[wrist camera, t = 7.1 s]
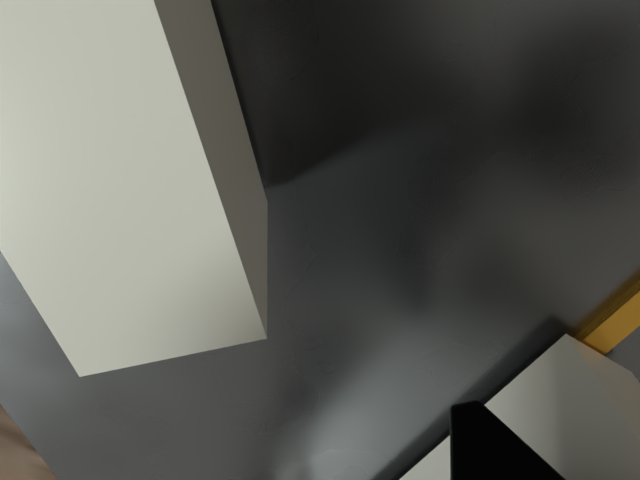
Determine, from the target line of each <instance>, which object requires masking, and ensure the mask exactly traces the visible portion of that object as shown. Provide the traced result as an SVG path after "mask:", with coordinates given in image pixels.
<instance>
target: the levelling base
mask: <svg viewBox="0 0 640 480" xmlns="http://www.w3.org/2000/svg"><path fill="white" fill-rule="evenodd" d="M210 1H211V4H212V8H213V11H214V15H215V19H216V22H217V26H218V29H219V33H220V36H221V40H222V43H223V47H224V50H225V54H226V57H227V61H228V65H229V68H230V72H231V75H232V79H233V82H234V86H235V89H236V93H237V96H238V100H239V103H240V107H241V111H242V114H243V118H244V121H245V125H246V128H247V132H248V135H249V139H250V142H251V146H252V150H253V153H254V157H255V160H256V164H257V167H258V171H259V174H260V178H261V181H262V185H263V188H264V192H265V196H266V199H267V339H263V340H258V341H253V342H248V343H243V344H238V345H233V346H229V347H224V348H219V349H214V350H209V351H204V352H199V353H194V354H190V355H185V356H180V357H175V358H170V359H165V360H160V361H155V362H150V363H146V364H141V365H136V366H131V367H126V368H121V369H116V370H111V371H107V372H102V373H97V374H92V375H87V376H82V377H79V375H78V374H77V372H76V371H75V369H74V367H73V366H72V364H71V363H70V361H69V359H68V358H67V356H66V355H65V353H64V351H63V350H62V348H61V347H60V345H59V343H58V342H57V340H56V339H55V337H54V335H53V334H52V332H51V331H50V329H49V327H48V326H47V324H46V323H45V321H44V319H43V318H42V316H41V315H40V313H39V311H38V310H37V308H36V307H35V305H34V304H33V302H32V300H31V299H30V297H29V296H28V294H27V292H26V291H25V289H24V288H23V286H22V284H21V283H20V281H19V280H18V278H17V276H16V275H15V273H14V272H13V270H12V268H11V267H10V265H9V264H8V262H7V260H6V259H5V257H4V256H3V254H2V252H1V251H0V404H1V405H2V406H3V408H4V409H5V410H6V412H7V413H8V414H9V416H10V417H11V418H12V419H13V421H14V422H15V423H16V425H17V426H18V427H19V428H20V430H21V431H22V432H23V434H24V435H25V436H26V438H27V439H28V440H29V441H30V443H31V444H32V445H33V447H34V448H35V449H36V451H37V452H38V453H39V454H40V456H41V457H42V458H43V460H44V461H45V462H46V464H47V465H48V466H49V467H50V469H51V470H52V471H53V473H54V474H55V475H56V476H57V478H58V479H59V480H399V479H400V478H402V477H403V476H404V475H405V474H406V473H407V472H408V471H410V470H411V469H412V468H413V467H414V466H415V465H416V464H418V463H419V462H420V461H421V460H422V459H423V458H424V457H426V456H427V455H428V454H429V453H430V452H431V451H432V450H434V449H435V448H436V447H437V446H438V445H439V444H440V443H442V442H443V441H444V440H445V439H446V438H447V437H448V436H450V407H451V405H454V404H459V403H463V402H468V401H472V400H477V401H480V402H481V403H482V404H484V405H485V404H486V403H487V402H488V401H490V400H491V399H492V398H493V397H494V396H495V395H496V394H498V393H499V392H500V391H501V390H502V389H503V388H504V387H505V386H507V385H508V384H509V383H510V382H511V381H512V380H513V379H515V378H516V377H517V376H518V375H519V374H520V373H521V372H523V371H524V370H525V369H526V368H527V367H528V366H529V365H531V364H532V363H533V362H534V361H535V360H536V359H537V358H539V357H540V356H541V355H542V354H543V353H544V352H545V351H547V350H548V349H549V348H550V347H551V346H552V345H553V344H555V343H556V342H557V341H558V340H559V339H560V338H561V337H563V336H564V335H565V334H567V335H569V336H571V337H573V338H574V339H576V340H578V341H579V342H581V343H583V344H585V345H586V346H588V347H590V348H591V349H593V350H595V351H597V352H598V353H600V354H602V355H603V356H605V357H607V358H608V359H610V360H612V361H614V362H615V363H617V364H619V365H620V366H622V367H624V368H626V369H627V370H629V371H631V372H632V373H633V375H634V376H635V377H636V378H637V380H638V381H639V382H640V0H210Z"/></svg>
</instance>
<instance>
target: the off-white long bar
mask: <svg viewBox="0 0 640 480" xmlns="http://www.w3.org/2000/svg"><path fill="white" fill-rule="evenodd" d="M0 251H1V252H2V254H3V256H4V257H5V259H6V260H7V262H8V264H9V265H10V267H11V268H12V270H13V272H14V273H15V275H16V276H17V278H18V280H19V281H20V283H21V284H22V286H23V288H24V289H25V291H26V292H27V294H28V296H29V297H30V299H31V300H32V302H33V304H34V305H35V307H36V308H37V310H38V311H39V313H40V315H41V316H42V318H43V319H44V321H45V323H46V324H47V326H48V327H49V329H50V331H51V332H52V334H53V335H54V337H55V339H56V340H57V342H58V343H59V345H60V347H61V348H62V350H63V351H64V353H65V355H66V356H67V358H68V359H69V361H70V363H71V364H72V366H73V367H74V369H75V371H76V372H77V374H78V375H79V377H82V376H87V375H92V374H97V373H102V372H107V371H111V370H116V369H121V368H126V367H131V366H136V365H141V364H146V363H150V362H155V361H160V360H165V359H170V358H175V357H180V356H185V355H190V354H194V353H199V352H204V351H209V350H214V349H219V348H224V347H229V346H233V345H238V344H243V343H248V342H253V341H258V340H263V339H267V199H266V196H265V192H264V188H263V185H262V181H261V178H260V174H259V171H258V167H257V164H256V160H255V157H254V153H253V150H252V146H251V142H250V139H249V135H248V132H247V128H246V125H245V121H244V118H243V114H242V111H241V107H240V103H239V100H238V96H237V93H236V89H235V86H234V82H233V79H232V75H231V72H230V68H229V65H228V61H227V57H226V54H225V50H224V47H223V43H222V40H221V36H220V33H219V29H218V26H217V22H216V19H215V15H214V11H213V8H212V4H211V1H210V0H0Z"/></svg>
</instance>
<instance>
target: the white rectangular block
mask: <svg viewBox="0 0 640 480" xmlns="http://www.w3.org/2000/svg"><path fill="white" fill-rule="evenodd" d="M485 406H486V407H487V408H488V409H489V410H490V411H491V412H492V413H493V414H495V415H496V416H497V417H498V418H499V419H500V420H501V421H502V422H503V423H504V424H506V425H507V426H508V427H509V428H510V429H511V430H512V431H513V432H514V433H515V434H517V435H518V436H519V437H520V438H521V439H522V440H523V441H524V442H525V443H526V444H527V445H529V446H530V447H531V448H532V449H533V450H534V451H535V452H536V453H537V454H538V455H540V456H541V457H542V458H543V459H544V460H545V461H546V462H547V463H548V464H549V465H551V466H552V467H553V468H554V469H555V470H556V471H557V472H558V473H559V474H560V475H561V476H563V477H564V478H565V479H566V480H640V382H639V381H638V380H637V378H636V377H635V376H634V375H633V373H632V372H631V371H629V370H627V369H626V368H624V367H622V366H620V365H619V364H617V363H615V362H614V361H612V360H610V359H608V358H607V357H605V356H603V355H602V354H600V353H598V352H597V351H595V350H593V349H591V348H590V347H588V346H586V345H585V344H583V343H581V342H579V341H578V340H576V339H574V338H573V337H571V336H569V335H567V334H565V335H564V336H563V337H561V338H560V339H559V340H558V341H557V342H556V343H555V344H553V345H552V346H551V347H550V348H549V349H548V350H547V351H545V352H544V353H543V354H542V355H541V356H540V357H539V358H537V359H536V360H535V361H534V362H533V363H532V364H531V365H529V366H528V367H527V368H526V369H525V370H524V371H523V372H521V373H520V374H519V375H518V376H517V377H516V378H515V379H513V380H512V381H511V382H510V383H509V384H508V385H507V386H505V387H504V388H503V389H502V390H501V391H500V392H499V393H498V394H496V395H495V396H494V397H493V398H492V399H491V400H490V401H488V402H487V403H486V404H485ZM399 480H450V436H448V437H447V438H446V439H445V440H444V441H443V442H442V443H440V444H439V445H438V446H437V447H436V448H435V449H434V450H432V451H431V452H430V453H429V454H428V455H427V456H426V457H424V458H423V459H422V460H421V461H420V462H419V463H418V464H416V465H415V466H414V467H413V468H412V469H411V470H410V471H408V472H407V473H406V474H405V475H404V476H403V477H402V478H400V479H399Z"/></svg>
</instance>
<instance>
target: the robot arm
mask: <svg viewBox="0 0 640 480" xmlns="http://www.w3.org/2000/svg"><path fill="white" fill-rule="evenodd" d="M450 480H566V479H565V478H564V477H563V476H561V475H560V474H559V473H558V472H557V471H556V470H555V469H554V468H553V467H552V466H551V465H549V464H548V463H547V462H546V461H545V460H544V459H543V458H542V457H541V456H540V455H538V454H537V453H536V452H535V451H534V450H533V449H532V448H531V447H530V446H529V445H527V444H526V443H525V442H524V441H523V440H522V439H521V438H520V437H519V436H518V435H517V434H515V433H514V432H513V431H512V430H511V429H510V428H509V427H508V426H507V425H506V424H504V423H503V422H502V421H501V420H500V419H499V418H498V417H497V416H496V415H495V414H493V413H492V412H491V411H490V410H489V409H488V408H487V407H486V406H485V405H484V404H482V403H481V402H480V401H477V400H472V401H468V402H463V403H459V404H454V405H451V407H450Z"/></svg>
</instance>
